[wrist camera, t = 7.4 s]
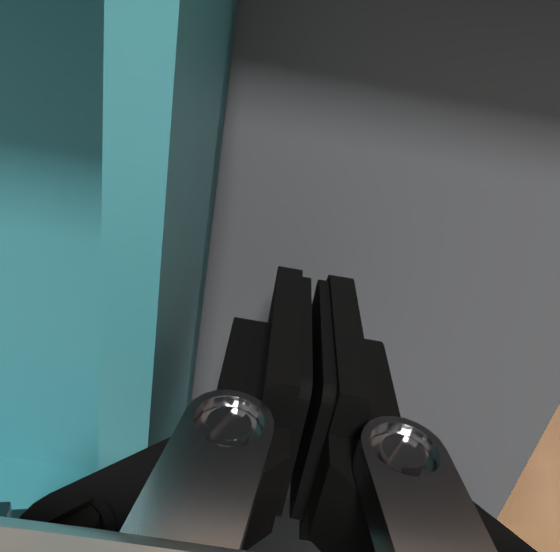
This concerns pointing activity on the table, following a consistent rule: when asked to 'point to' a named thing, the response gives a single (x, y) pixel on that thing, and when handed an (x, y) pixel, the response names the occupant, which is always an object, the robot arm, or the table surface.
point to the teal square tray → (103, 226)
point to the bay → (403, 207)
